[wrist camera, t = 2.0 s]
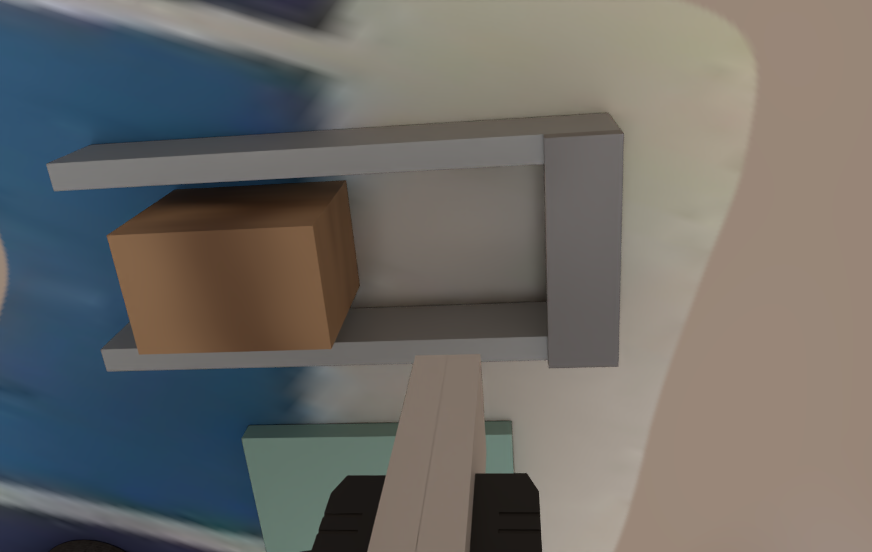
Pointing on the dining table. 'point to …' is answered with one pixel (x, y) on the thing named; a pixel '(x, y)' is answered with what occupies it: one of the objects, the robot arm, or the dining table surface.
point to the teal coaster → (327, 470)
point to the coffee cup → (85, 547)
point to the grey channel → (402, 152)
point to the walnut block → (239, 268)
